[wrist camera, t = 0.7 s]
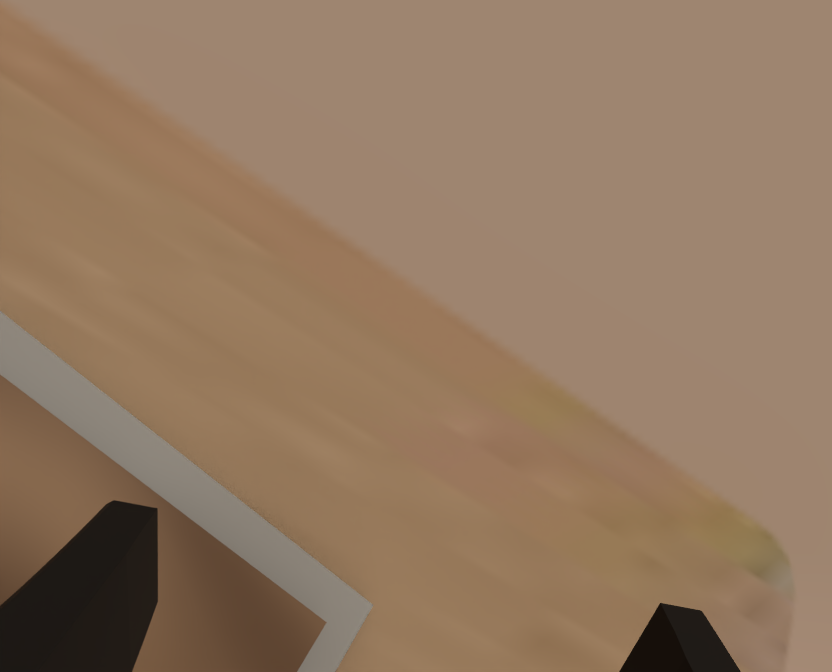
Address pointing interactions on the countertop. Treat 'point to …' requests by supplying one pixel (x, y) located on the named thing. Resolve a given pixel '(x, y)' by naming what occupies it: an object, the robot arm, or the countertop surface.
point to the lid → (177, 552)
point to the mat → (186, 490)
